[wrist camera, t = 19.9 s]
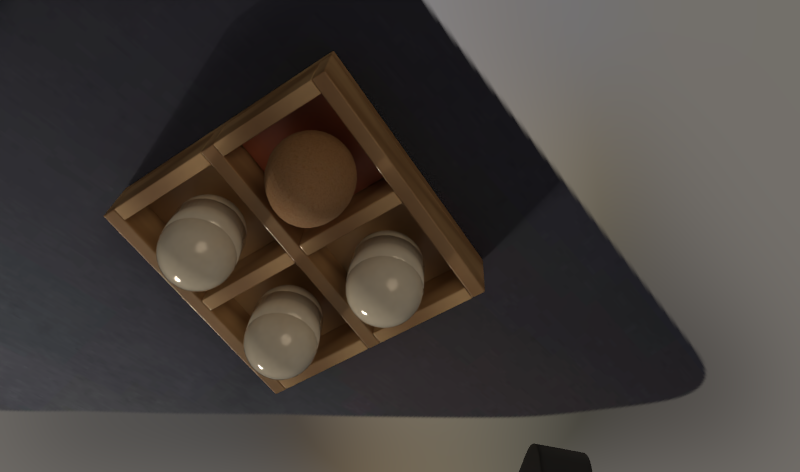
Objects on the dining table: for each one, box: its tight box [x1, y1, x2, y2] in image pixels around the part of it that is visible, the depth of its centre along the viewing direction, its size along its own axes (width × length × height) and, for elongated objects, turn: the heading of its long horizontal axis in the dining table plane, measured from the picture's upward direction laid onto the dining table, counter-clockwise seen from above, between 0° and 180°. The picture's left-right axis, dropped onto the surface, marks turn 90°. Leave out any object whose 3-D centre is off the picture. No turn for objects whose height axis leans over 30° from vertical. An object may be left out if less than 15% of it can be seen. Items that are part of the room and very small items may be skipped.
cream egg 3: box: [345, 230, 425, 328], centre depth 39 cm, size 4×4×6 cm
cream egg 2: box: [243, 284, 323, 380], centre depth 41 cm, size 4×4×6 cm
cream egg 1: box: [156, 194, 247, 292], centre depth 38 cm, size 4×4×6 cm
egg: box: [264, 130, 357, 228], centre depth 36 cm, size 4×4×6 cm
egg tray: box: [104, 51, 485, 394], centre depth 40 cm, size 14×14×3 cm
